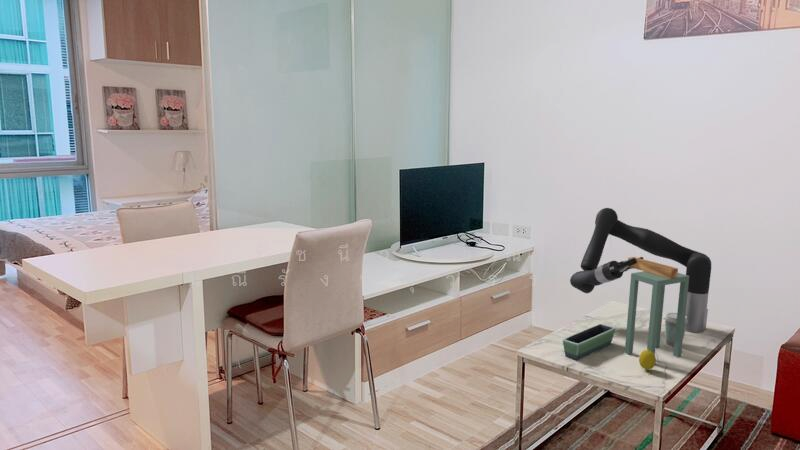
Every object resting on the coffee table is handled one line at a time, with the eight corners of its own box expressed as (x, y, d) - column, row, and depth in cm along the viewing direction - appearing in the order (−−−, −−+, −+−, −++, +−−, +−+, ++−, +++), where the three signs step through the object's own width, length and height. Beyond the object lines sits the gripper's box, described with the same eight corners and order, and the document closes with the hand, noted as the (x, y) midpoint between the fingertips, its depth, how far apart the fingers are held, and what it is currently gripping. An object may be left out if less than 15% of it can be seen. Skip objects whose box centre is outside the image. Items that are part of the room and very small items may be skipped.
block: (633, 265, 233) (634, 256, 232) (677, 277, 216) (678, 268, 215) (627, 266, 231) (628, 257, 231) (670, 278, 214) (671, 269, 213)
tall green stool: (655, 345, 235) (662, 268, 229) (681, 356, 224) (689, 275, 219) (624, 352, 227) (631, 273, 222) (650, 364, 217) (657, 281, 211)
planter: (577, 362, 218) (578, 344, 217) (560, 356, 224) (561, 339, 222) (615, 344, 236) (616, 327, 235) (598, 339, 241) (600, 323, 240)
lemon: (635, 367, 214) (637, 346, 213) (649, 366, 215) (651, 346, 213) (642, 373, 209) (644, 352, 207) (657, 373, 209) (659, 352, 208)
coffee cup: (665, 347, 233) (668, 318, 231) (659, 339, 242) (662, 311, 240) (688, 348, 232) (691, 319, 230) (681, 340, 240) (684, 312, 238)
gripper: (593, 265, 241) (623, 252, 226) (618, 261, 247) (648, 249, 232) (598, 282, 239) (629, 271, 224) (623, 278, 245) (655, 267, 230)
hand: (639, 259), depth 228 cm, fingers closed on block, 3 cm apart
